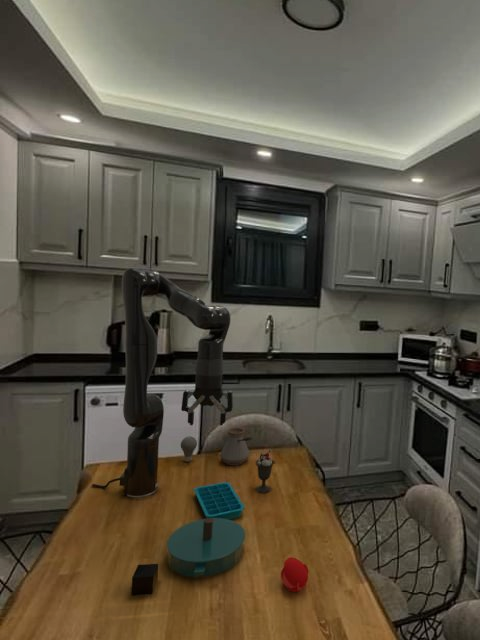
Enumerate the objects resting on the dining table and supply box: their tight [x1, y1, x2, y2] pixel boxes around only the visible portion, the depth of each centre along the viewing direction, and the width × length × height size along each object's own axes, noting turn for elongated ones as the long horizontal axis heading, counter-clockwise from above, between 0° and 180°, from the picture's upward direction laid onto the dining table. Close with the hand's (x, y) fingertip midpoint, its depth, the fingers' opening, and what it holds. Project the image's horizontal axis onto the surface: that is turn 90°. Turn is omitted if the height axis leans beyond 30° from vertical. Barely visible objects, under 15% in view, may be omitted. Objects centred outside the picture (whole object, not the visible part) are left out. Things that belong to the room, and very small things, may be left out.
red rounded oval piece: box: [280, 556, 309, 593], centre depth 108 cm, size 8×6×6 cm
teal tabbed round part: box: [167, 543, 244, 578], centre depth 116 cm, size 19×24×4 cm
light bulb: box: [180, 435, 198, 463], centre depth 171 cm, size 6×6×10 cm
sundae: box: [255, 449, 276, 494], centre depth 154 cm, size 7×7×15 cm
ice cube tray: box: [193, 481, 245, 520], centre depth 140 cm, size 12×20×3 cm, turn 34°
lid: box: [166, 517, 246, 563], centre depth 116 cm, size 20×20×6 cm
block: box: [130, 563, 159, 596], centre depth 102 cm, size 4×4×5 cm
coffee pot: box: [219, 427, 254, 466], centre depth 171 cm, size 21×12×15 cm, turn 39°
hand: (206, 424), depth 130 cm, fingers open, 8 cm apart
